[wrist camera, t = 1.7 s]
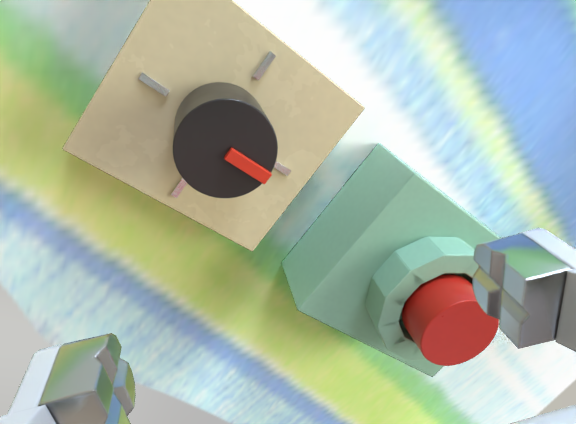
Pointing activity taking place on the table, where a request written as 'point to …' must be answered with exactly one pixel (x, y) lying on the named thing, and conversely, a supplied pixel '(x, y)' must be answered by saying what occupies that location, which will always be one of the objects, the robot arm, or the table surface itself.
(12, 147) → the table surface
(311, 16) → the table surface
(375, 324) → the green push button box
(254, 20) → the panel
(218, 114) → the knob
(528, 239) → the robot arm
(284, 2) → the table surface
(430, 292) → the button
